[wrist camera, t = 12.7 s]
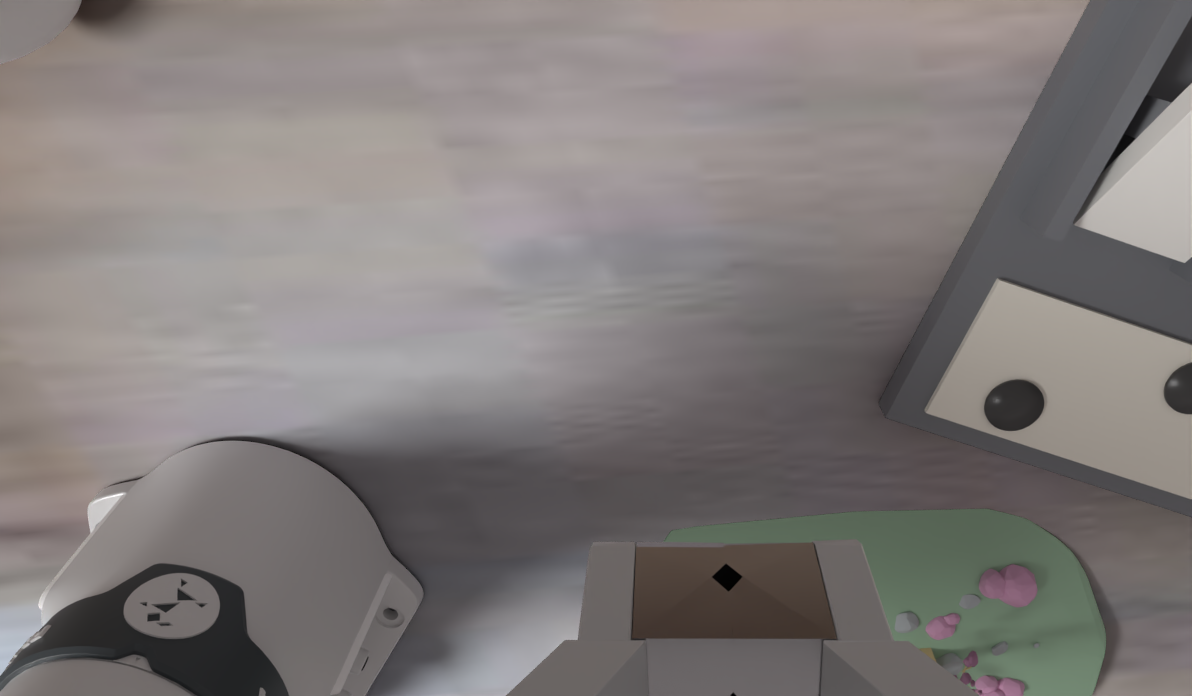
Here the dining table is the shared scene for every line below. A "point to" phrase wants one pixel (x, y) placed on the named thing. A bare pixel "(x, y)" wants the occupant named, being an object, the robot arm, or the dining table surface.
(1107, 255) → the switch unit
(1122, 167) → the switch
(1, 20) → the white knot sculpture
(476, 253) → the dining table surface
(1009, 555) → the plant
